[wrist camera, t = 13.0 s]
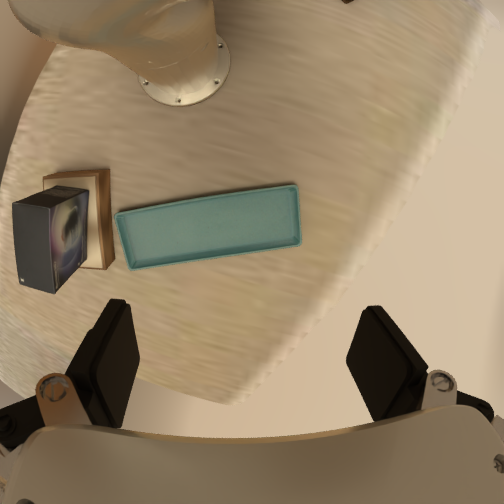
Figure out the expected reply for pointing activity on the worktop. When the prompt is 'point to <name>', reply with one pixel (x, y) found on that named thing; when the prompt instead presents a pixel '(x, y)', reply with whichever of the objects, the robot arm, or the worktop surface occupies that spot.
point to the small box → (50, 236)
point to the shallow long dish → (210, 227)
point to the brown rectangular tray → (92, 212)
